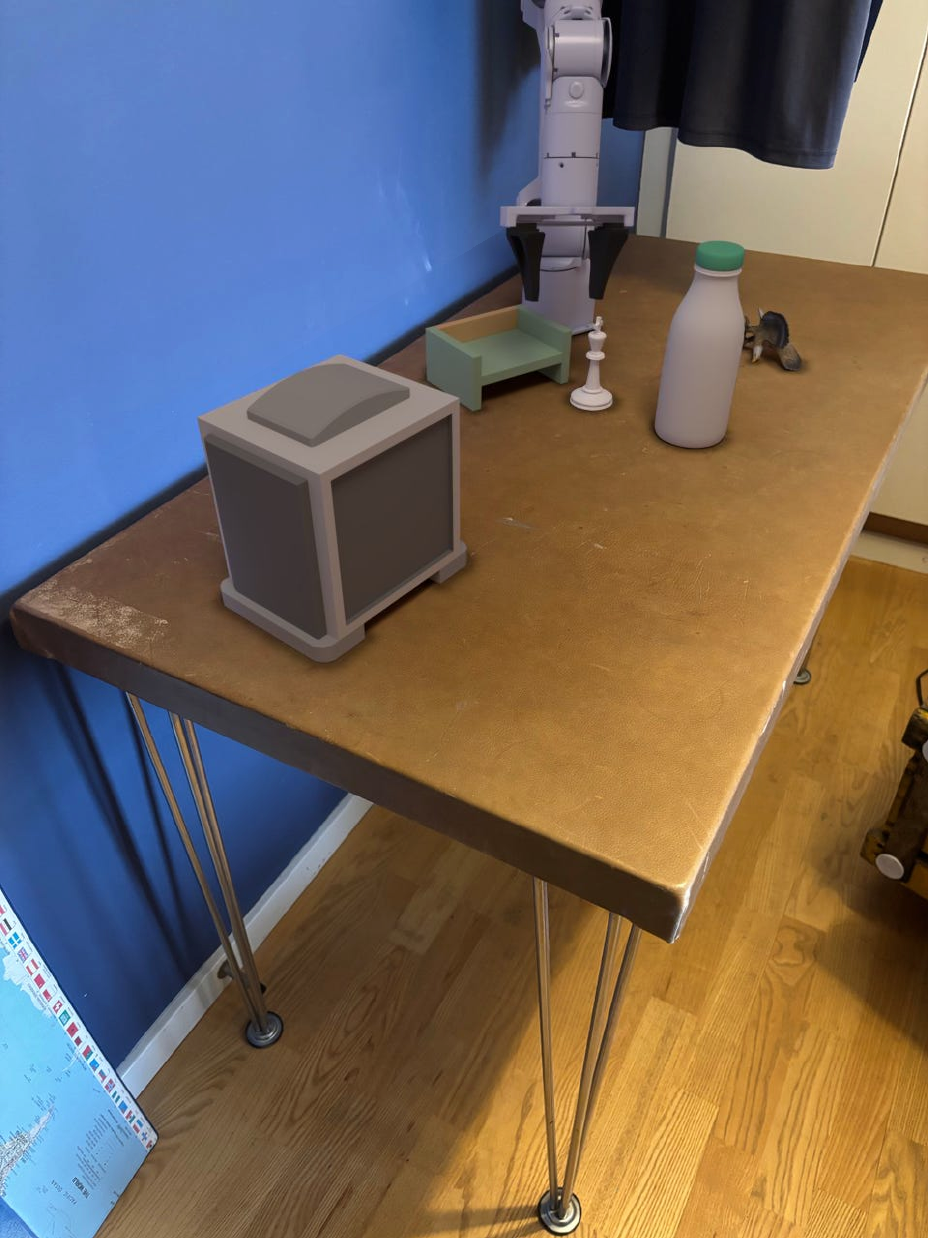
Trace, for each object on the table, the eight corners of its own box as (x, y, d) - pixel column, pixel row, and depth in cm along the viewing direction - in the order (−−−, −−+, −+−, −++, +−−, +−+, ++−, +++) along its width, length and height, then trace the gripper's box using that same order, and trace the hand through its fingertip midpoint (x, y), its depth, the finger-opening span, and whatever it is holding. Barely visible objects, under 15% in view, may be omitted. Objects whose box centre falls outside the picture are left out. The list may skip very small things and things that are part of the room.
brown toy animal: (715, 351, 115) (780, 359, 109) (734, 294, 114) (800, 299, 108) (742, 368, 120) (806, 377, 114) (760, 314, 119) (825, 321, 113)
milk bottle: (725, 453, 97) (764, 262, 84) (652, 446, 98) (680, 256, 85) (724, 420, 103) (761, 236, 90) (655, 413, 104) (681, 231, 91)
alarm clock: (367, 510, 88) (352, 326, 77) (472, 560, 82) (473, 368, 70) (216, 601, 78) (172, 402, 66) (324, 667, 71) (297, 460, 59)
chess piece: (563, 405, 106) (569, 320, 99) (579, 388, 109) (586, 305, 103) (603, 414, 104) (612, 329, 98) (618, 397, 107) (628, 313, 101)
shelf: (519, 353, 117) (521, 303, 113) (568, 382, 110) (572, 329, 106) (426, 380, 111) (425, 328, 107) (472, 411, 104) (473, 357, 100)
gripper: (520, 155, 87) (516, 305, 93) (653, 158, 92) (641, 301, 97) (493, 158, 93) (491, 298, 99) (620, 161, 98) (610, 295, 103)
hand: (564, 299), depth 98 cm, fingers open, 7 cm apart
